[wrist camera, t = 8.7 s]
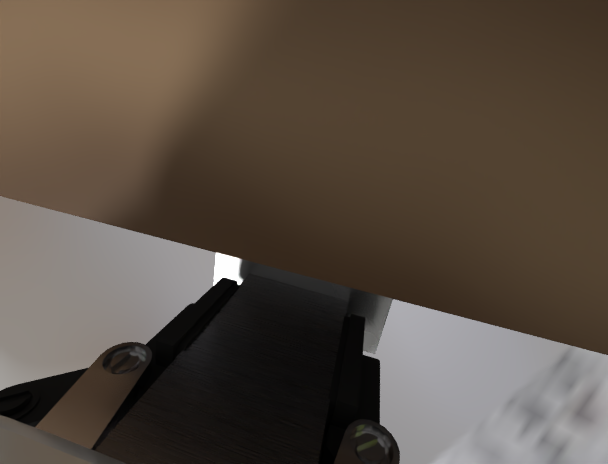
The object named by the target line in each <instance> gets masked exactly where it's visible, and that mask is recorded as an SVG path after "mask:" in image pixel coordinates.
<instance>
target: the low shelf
mask: <svg viewBox="0 0 608 464" xmlns="http://www.w3.org/2000/svg"><path fill="white" fill-rule="evenodd" d="M0 196H3V197H6V198H10V199H14V200H17V201H21V202H26V203H29V204H33V205H37V206H40V207H45V208H48V209H52V210H56V211H60V212H63V213H68V214H71V215H75V216H79V217H82V218H87V219H90V220H94V221H98V222H102V223H106V224H109V225H113V226H117V227H121V228H125V229H128V230H132V231H136V232H140V233H144V234H148V235H151V236H155V237H159V238H163V239H166V240H171V241H174V242H178V243H182V244H186V245H189V246H194V247H197V248H201V249H205V250H208V251H212V252H216V253H220V254H224V255H228V256H231V257H235V258H239V259H243V260H247V261H250V262H254V263H258V264H262V265H266V266H270V267H273V268H277V269H281V270H285V271H289V272H293V273H296V274H300V275H304V276H308V277H312V278H315V279H319V280H323V281H327V282H331V283H335V284H338V285H342V286H346V287H350V288H354V289H357V290H361V291H365V292H369V293H373V294H377V295H380V296H384V297H388V298H392V299H396V300H399V301H403V302H407V303H411V304H415V305H419V306H422V307H426V308H430V309H434V310H438V311H442V312H445V313H449V314H453V315H457V316H461V317H464V318H468V319H472V320H476V321H480V322H484V323H488V324H491V325H495V326H499V327H503V328H507V329H510V330H514V331H518V332H522V333H526V334H530V335H533V336H537V337H541V338H545V339H549V340H552V341H556V342H560V343H564V344H568V345H571V346H575V347H579V348H583V349H587V350H590V351H594V352H598V353H602V354H606V355H608V0H0Z"/></svg>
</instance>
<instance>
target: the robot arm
mask: <svg viewBox="0 0 608 464" xmlns="http://www.w3.org/2000/svg"><path fill="white" fill-rule="evenodd" d="M239 287H240V285H238V282H237V281H236V280H232V279H229V278H225V277H223V278H221V279H220V280H219V281H218V282H217V283H216V284H215V285H214V286H213V287H212V288H211V289H210V290H209V291H208V292H206V293H205V294H204V295H203V296H202V297H201V298H200V299H199V300H198V301H197V302H196V303H195V304H193V303H192V304H190V305H188V306H187V307H186V308H185V309H184V310H183V311H181V312H180V313H179V314H178V315H177V316H176V317H175V318H174V319H173V320H172V321H171V322H170V323H168V324H167V325H166V326H165V327H164V328H163V329H162V330H161V331H160V332H159V333H158V334H156V336H154V337H153V338H152V339H151V340H150V341H149V342H148V343H147V344H146V345H144V344H141V343H138V342H127V343H122V344H118V345H115V346H113V347H111V348H109V349H107V350H106V351H105V352H104V353H102V354H101V355H100V356H99V357H98V358H97V360H96V361H95V362H94V363H93V364H92V365H91V366H90V367H89V368H86V369H82V370H77V371H73V372H69V373H64V374H60V375H56V376H52V377H47V378H43V379H39V380H35V381H31V382H26V383H22V384H18V385H14V386H11V387H8V388H6V389H3V390H1V391H0V464H126V463H124V462H121V461H119V460H116V459H114V458H111V457H109V456H106V455H104V454H101V453H99V452H96V451H95V450H96V448H97V447H98V446H99V445H100V444H101V443H102V442H103V440H104V439H105V438H106V437H107V436H108V435H109V434H110V432H111V431H112V430H113V429H114V428H115V427H116V426H117V424H118V423H119V422H120V421H121V420H122V419H123V418H124V417H125V415H126V414H127V413H128V412H129V411H130V410H131V409H132V407H133V406H134V405H135V404H136V403H137V402H138V401H139V399H140V398H141V397H142V396H143V395H144V394H145V393H146V391H147V390H148V389H149V388H150V387H151V386H152V385H153V383H154V382H155V381H156V380H157V379H158V378H159V377H160V375H161V374H162V373H163V372H164V371H165V370H166V369H167V367H168V366H169V365H170V364H171V363H172V362H173V361H174V359H175V358H176V357H177V356H178V355H179V354H180V353H181V351H184V350H185V349H186V348H187V347H188V346H189V345H190V344H191V342H192V341H193V340H194V339H195V338H196V337H197V335H198V334H199V333H200V332H201V331H202V330H203V329H204V327H205V326H206V325H207V324H208V323H209V322H210V320H211V319H212V318H213V317H214V316H215V315H216V314H217V312H218V311H219V310H220V309H221V308H222V307H223V305H224V304H225V303H226V302H227V301H228V300H229V299H230V297H231V296H232V295H233V294H234V293H235V292H236V290H237V289H238V288H239ZM365 319H366V318H365V317H363V316H359V315H356V314H352V313H351V315H350V317H348V316H344V321H343V326H342V331H341V336H340V341H339V346H338V351H337V356H336V361H335V366H334V371H333V376H332V381H331V386H330V392H329V397H328V399H330V402H329V407H328V413H327V418H326V423H325V429H324V434H323V439H322V444H321V450H320V455H319V460H318V464H399V461H400V455H399V454H400V451H399V448H398V445H397V442H396V441H395V439H394V437H393V436H392V434H391V433H390V432H389V431H388V430H387V429H386V428H385V427H383V426H381V425H380V361H379V360H378V359H375V358H372V357H368V356H365V355H363V344H364V331H365Z"/></svg>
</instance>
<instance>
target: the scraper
mask: <svg viewBox="0 0 608 464" xmlns="http://www.w3.org/2000/svg"><path fill="white" fill-rule="evenodd" d="M223 277H225V278H229V279H232V280H236V281H237V282H238V285H240V287H239V288H238V289H237V290H236V292H235V293H234V294H233V295H232V296H231V297H230V299H229V300H228V301H227V302H226V303H225V304H224V305H223V307H222V308H221V309H220V310H219V311H218V312H217V314H216V315H215V316H214V317H213V318H212V319H211V320H210V322H209V323H208V324H207V325H206V326H205V327H204V329H203V330H202V331H201V332H200V333H199V334H198V335H197V337H196V338H195V339H194V340H193V341H192V342H191V344H190V345H189V346H188V347H187V348H186V349H185V350H184V351H181V353H180V354H179V355H178V356H177V357H176V358H175V359H174V361H173V362H172V363H171V364H170V365H169V366H168V367H167V369H166V370H165V371H164V372H163V373H162V374H161V375H160V377H159V378H158V379H157V380H156V381H155V382H154V383H153V385H152V386H151V387H150V388H149V389H148V390H147V391H146V393H145V394H144V395H143V396H142V397H141V398H140V399H139V401H138V402H137V403H136V404H135V405H134V406H133V407H132V409H131V410H130V411H129V412H128V413H127V414H126V415H125V417H124V418H123V419H122V420H121V421H120V422H119V423H118V424H117V426H116V427H115V428H114V429H113V430H112V431H111V432H110V434H109V435H108V436H107V437H106V438H105V439H104V440H103V442H102V443H101V444H100V445H99V446H98V447H97V448H96V450H95V451H96V452H99V453H101V454H104V455H106V456H109V457H111V458H114V459H116V460H119V461H121V462H124V463H126V464H318V460H319V455H320V450H321V444H322V439H323V434H324V429H325V423H326V418H327V413H328V407H329V402H330V399H328V397H329V392H330V386H331V381H332V376H333V371H334V366H335V361H336V356H337V351H338V346H339V341H340V336H341V331H342V326H343V321H344V316H348V317H350V315H351V313H352V314H356V315H359V316H363V317H365V318H366V319H365V331H364V344H363V351H367V352H370V353H373V354H375V352H376V349H377V346H378V343H379V340H380V337H381V334H382V331H383V328H384V325H385V321H386V318H387V315H388V312H389V309H390V306H391V303H392V300H393V299H392V298H388V297H384V296H380V295H377V294H373V293H369V292H365V291H361V290H357V289H354V288H350V287H346V286H342V285H338V284H335V283H331V282H327V281H323V280H319V279H315V278H312V277H308V276H304V275H300V274H296V273H293V272H289V271H285V270H281V269H277V268H273V267H270V266H266V265H262V264H258V263H254V262H250V261H247V260H243V259H239V258H235V257H231V256H228V255H224V254H220V253H216V261H215V275H214V285H215V284H216V283H217V282H218V281H219V280H220V279H221V278H223Z"/></svg>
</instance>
